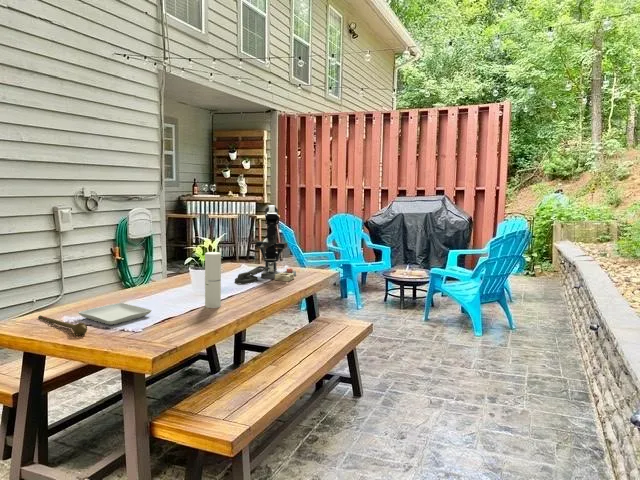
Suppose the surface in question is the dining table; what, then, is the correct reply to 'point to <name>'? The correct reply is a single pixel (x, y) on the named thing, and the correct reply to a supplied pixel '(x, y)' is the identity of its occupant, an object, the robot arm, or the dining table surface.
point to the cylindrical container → (212, 279)
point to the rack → (284, 276)
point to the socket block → (272, 276)
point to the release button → (289, 270)
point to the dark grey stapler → (249, 278)
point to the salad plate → (115, 313)
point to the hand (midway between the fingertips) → (271, 258)
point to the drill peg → (270, 267)
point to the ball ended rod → (68, 325)
